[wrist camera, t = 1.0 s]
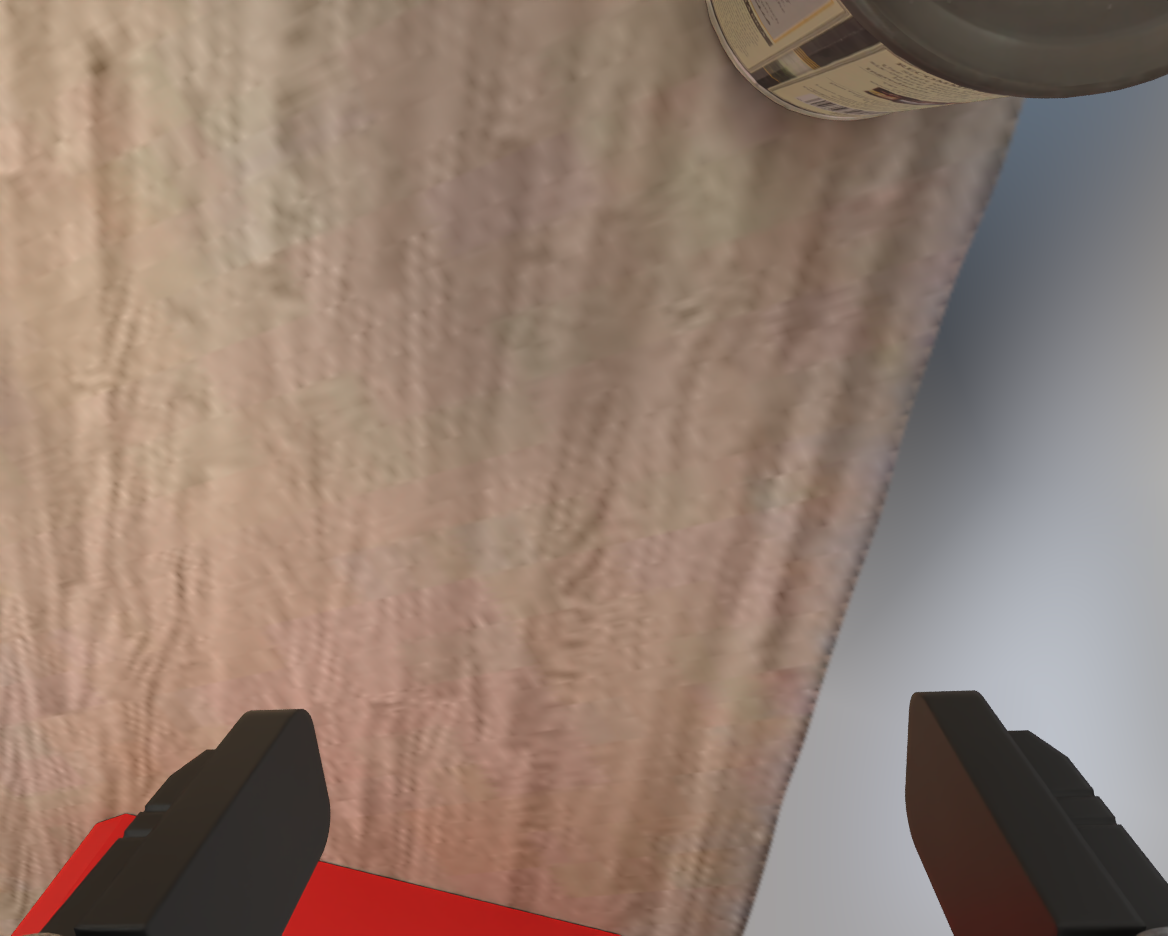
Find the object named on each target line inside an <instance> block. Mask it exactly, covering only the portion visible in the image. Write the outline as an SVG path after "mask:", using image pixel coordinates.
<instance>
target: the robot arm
mask: <svg viewBox="0 0 1168 936" xmlns="http://www.w3.org/2000/svg"><path fill="white" fill-rule="evenodd" d="M905 802H906V811H907V817H908V823H909V828H910V832H911V835H912V839H913V842H914V845H915V847H916V850H917V852H918V854H919V856H920V859H921V861H922V863H923V866H924V868H925V870H926V872H927V875H928V877H929V879H930V882H931V884H932V886H933V889H934V891H935V893H936V896H937V898H938V900H939V902H940V905H941V907H942V909H943V911H944V914H945V916H946V918H947V921H948V923H949V925H950V927H951V930H952V932H953V934H954V936H1168V883H1167V882H1166V881H1165V880H1164V878H1163V877H1162V876H1161V875H1160V873H1159V872H1158V871H1157V870H1156V868H1155V867H1154V866H1153V864H1152V863H1151V862H1150V861H1149V859H1148V858H1147V857H1146V856H1145V854H1144V853H1143V852H1142V851H1141V849H1140V848H1139V847H1138V845H1137V844H1136V843H1135V842H1134V840H1133V839H1132V838H1131V837H1130V835H1129V834H1128V833H1127V832H1126V830H1125V829H1124V828H1123V826H1122V825H1117V824H1116V821H1115V816H1114V815H1113V814H1112V813H1111V811H1110V810H1109V809H1108V807H1107V806H1106V805H1105V804H1104V802H1103V801H1102V800H1101V799H1100V797H1098V796H1095V795H1094V791H1093V789H1092V787H1091V786H1090V785H1089V783H1088V782H1087V781H1086V780H1085V778H1084V777H1083V776H1082V775H1081V773H1080V772H1079V771H1078V770H1077V768H1076V767H1075V766H1074V765H1073V763H1072V762H1071V761H1070V759H1069V758H1068V757H1067V756H1065V755H1064V754H1062V753H1061V752H1059V751H1058V750H1056V749H1055V748H1053V747H1052V746H1051V745H1049V744H1048V743H1046V742H1045V741H1043V740H1042V739H1040V738H1039V737H1037V736H1036V735H1034V734H1033V733H1032V732H1030V731H1028V730H1025V731H1007V730H1006V728H1005V727H1004V725H1003V724H1002V723H1001V721H1000V720H999V718H998V717H997V716H996V714H995V713H994V712H993V710H992V709H991V707H990V706H989V704H988V703H987V702H986V701H985V699H984V697H983V696H982V695H981V694H980V693H979V692H977V691H975V690H974V691H941V692H916V693H914V694H913V695H912V697H911V700H910V707H909V723H908V745H907V766H906V785H905ZM329 827H330V802H329V797H328V792H327V787H326V782H325V778H324V773H323V768H322V763H321V758H320V754H319V749H318V744H317V739H316V734H315V730H314V725H313V721H312V719H311V716H310V715H309V713H308V712H307V711H306V710H304V709H287V710H254V711H248V712H246V713H245V714H244V715H243V716H242V717H241V718H240V719H239V720H238V722H237V723H236V724H235V725H234V727H233V728H232V729H231V731H230V732H229V733H228V734H227V736H226V737H225V738H224V739H223V741H222V742H221V743H220V744H219V746H218V747H217V748H216V749H215V750H206V751H204V752H203V753H201V754H200V755H199V756H197V757H196V758H194V759H193V760H192V761H190V762H189V763H187V764H186V765H185V766H183V767H182V768H181V769H179V770H178V771H176V772H175V773H174V774H172V775H171V776H170V777H169V778H168V779H167V780H166V782H165V783H164V784H163V785H162V786H161V788H160V789H159V790H158V791H157V792H156V794H155V795H154V796H153V797H152V798H151V800H150V801H149V802H148V803H147V804H146V806H145V811H144V812H140V813H139V814H138V815H137V816H136V818H135V819H134V820H133V821H132V822H131V823H130V825H129V826H128V827H127V828H126V829H125V831H124V836H123V838H118V839H117V840H116V841H115V843H114V844H113V845H112V846H111V847H110V849H109V850H108V851H107V852H106V853H105V855H104V856H103V857H102V858H101V859H100V861H99V862H98V863H97V864H96V865H95V866H94V868H93V869H92V870H91V871H90V872H89V874H88V875H87V876H86V877H85V878H84V880H83V881H82V882H81V883H80V884H79V886H78V887H77V888H76V889H75V890H74V892H73V893H72V894H71V895H70V896H69V898H68V899H67V900H66V901H65V902H64V904H63V905H62V906H61V907H60V908H59V909H58V911H57V912H56V913H55V914H54V915H53V917H52V918H51V919H50V920H49V921H48V923H47V924H46V925H45V926H44V927H43V929H42V930H41V931H40V932H39V933H34V934H28V935H23V936H282V934H283V932H284V930H285V928H286V926H287V924H288V922H289V920H290V918H291V916H292V914H293V912H294V910H295V908H296V906H297V904H298V902H299V900H300V898H301V896H302V894H303V892H304V890H305V888H306V886H307V884H308V882H309V880H310V878H311V876H312V874H313V871H314V869H315V867H316V865H317V863H318V861H319V859H320V857H321V855H322V853H323V851H324V848H325V845H326V842H327V838H328V833H329Z"/></svg>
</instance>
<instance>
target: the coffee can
mask: <svg viewBox="0 0 1168 936" xmlns="http://www.w3.org/2000/svg"><path fill="white" fill-rule="evenodd" d="M706 4H707V8H708V13H709V18H710V21H711V23H712V25H713V27H714V29H715V31H716V33H717V35H718V38H719V40H720V42H721V45H722V47H723V48H724V50H725V51H726V53H727V55H728V56H729V58H730V59H731V61H732V62H733V64H734V65H735V67H736V68H737V69H738V70H739V72H740V73H741V74H742V75H743V76H744V77H745V78H746V79H747V80H748V81H749V82H750V83H751V84H752V85H753V86H754V87H755V88H756V89H758V90H759V91H760V92H761V93H763V94H764V95H765V96H767V97H768V98H769V99H771V100H772V101H774V102H776V103H778V104H780V105H782V106H783V107H785V108H786V109H788V110H792V111H795V112H798V113H801V114H804V115H808V116H811V117H816V118H822V119H828V120H859V119H866V118H873V117H878V116H882V115H887V114H890V113H893V112H902V111H909V110H915V109H922V108H931V107H937V106H944V105H951V104H957V103H969V102H975V101H984V100H989V99H995V98H1002V97H1009V96H1015V97H1025V98H1068V97H1076V96H1084V95H1093V94H1099V93H1105V92H1111V91H1116V90H1121V89H1124V88H1127V87H1131V86H1135V85H1138V84H1142V83H1145V82H1148V81H1151V80H1154V79H1157V78H1159V77H1161V76H1164V75H1166V74H1168V0H706Z"/></svg>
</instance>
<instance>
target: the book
mask: <svg viewBox="0 0 1168 936" xmlns="http://www.w3.org/2000/svg"><path fill="white" fill-rule="evenodd" d="M135 818H136V816H133V815H129V814H124V815H121V816H118V817H115V818H112V819H109V820H106V821H103V822H100V823H97V824H96V825H95V826H94V827H93V829H92V830H91V831H90V833H89V834H88V835H87V837H86V838H85V839H84V841H83V842H82V843H81V845H80V846H79V847H78V848H77V850H76V851H75V852H74V854H73V855H72V856H71V858H70V859H69V860H68V862H67V863H66V864H65V865H64V867H63V868H62V869H61V871H60V872H59V873H58V875H57V876H56V877H55V879H54V880H53V881H52V883H51V884H50V885H49V886H48V888H47V889H46V890H45V892H44V893H43V894H42V896H41V897H40V898H39V900H38V901H37V902H36V904H35V905H34V906H33V907H32V909H31V910H30V911H29V913H28V914H27V915H26V917H25V918H24V919H23V921H22V922H21V923H20V924H19V926H18V927H17V928H16V930H15V931H14V932H13V934H12V935H11V936H23V935H28V934H34V933H39V932H40V931H41V930H42V929H43V927H44V926H45V925H46V924H47V923H48V921H49V920H50V919H51V918H52V917H53V915H54V914H55V913H56V912H57V911H58V909H59V908H60V907H61V906H62V905H63V904H64V902H65V901H66V900H67V899H68V898H69V896H70V895H71V894H72V893H73V892H74V890H75V889H76V888H77V887H78V886H79V884H80V883H81V882H82V881H83V880H84V878H85V877H86V876H87V875H88V874H89V872H90V871H91V870H92V869H93V868H94V866H95V865H96V864H97V863H98V862H99V861H100V859H101V858H102V857H103V856H104V855H105V853H106V852H107V851H108V850H109V849H110V847H111V846H112V845H113V844H114V843H115V841H116V840H117V839H118V838H123V836H124V831H125V829H126V828H127V827H128V826H129V825H130V823H131V822H132V821H133V820H134V819H135ZM282 936H621V935H617V934H613V933H609V932H605V931H601V930H597V929H593V928H589V927H585V926H581V925H576V924H572V923H568V922H564V921H560V920H556V919H552V918H548V917H544V916H540V915H536V914H532V913H528V912H524V911H520V910H515V909H511V908H507V907H503V906H499V905H495V904H491V903H487V902H483V901H479V900H475V899H471V898H467V897H463V896H458V895H454V894H450V893H446V892H442V891H438V890H434V889H430V888H426V887H422V886H418V885H414V884H410V883H406V882H402V881H397V880H393V879H389V878H385V877H381V876H377V875H373V874H369V873H365V872H361V871H357V870H353V869H349V868H345V867H340V866H336V865H332V864H328V863H324V862H320V861H318V863H317V865H316V867H315V869H314V871H313V874H312V876H311V878H310V880H309V882H308V884H307V886H306V888H305V890H304V892H303V894H302V896H301V898H300V900H299V902H298V904H297V906H296V908H295V910H294V912H293V914H292V916H291V918H290V920H289V922H288V924H287V926H286V928H285V930H284V932H283V934H282Z"/></svg>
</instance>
